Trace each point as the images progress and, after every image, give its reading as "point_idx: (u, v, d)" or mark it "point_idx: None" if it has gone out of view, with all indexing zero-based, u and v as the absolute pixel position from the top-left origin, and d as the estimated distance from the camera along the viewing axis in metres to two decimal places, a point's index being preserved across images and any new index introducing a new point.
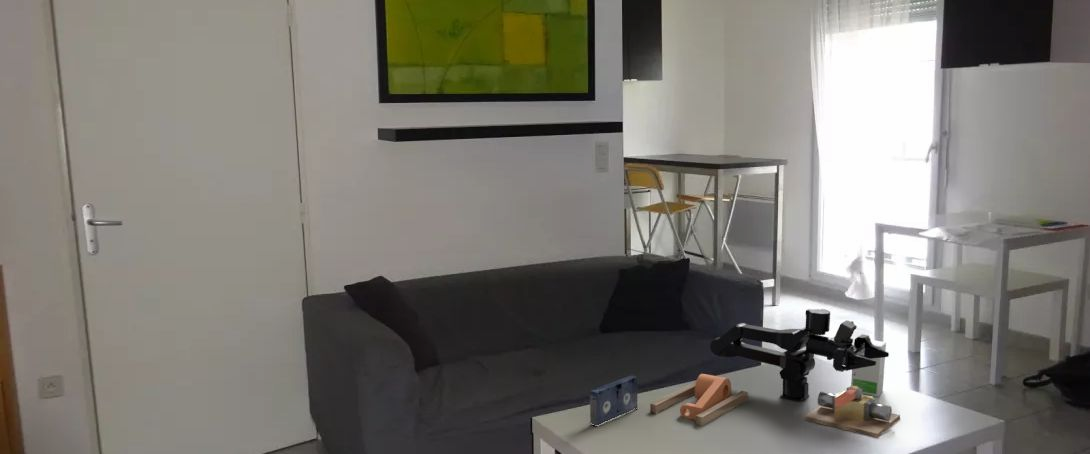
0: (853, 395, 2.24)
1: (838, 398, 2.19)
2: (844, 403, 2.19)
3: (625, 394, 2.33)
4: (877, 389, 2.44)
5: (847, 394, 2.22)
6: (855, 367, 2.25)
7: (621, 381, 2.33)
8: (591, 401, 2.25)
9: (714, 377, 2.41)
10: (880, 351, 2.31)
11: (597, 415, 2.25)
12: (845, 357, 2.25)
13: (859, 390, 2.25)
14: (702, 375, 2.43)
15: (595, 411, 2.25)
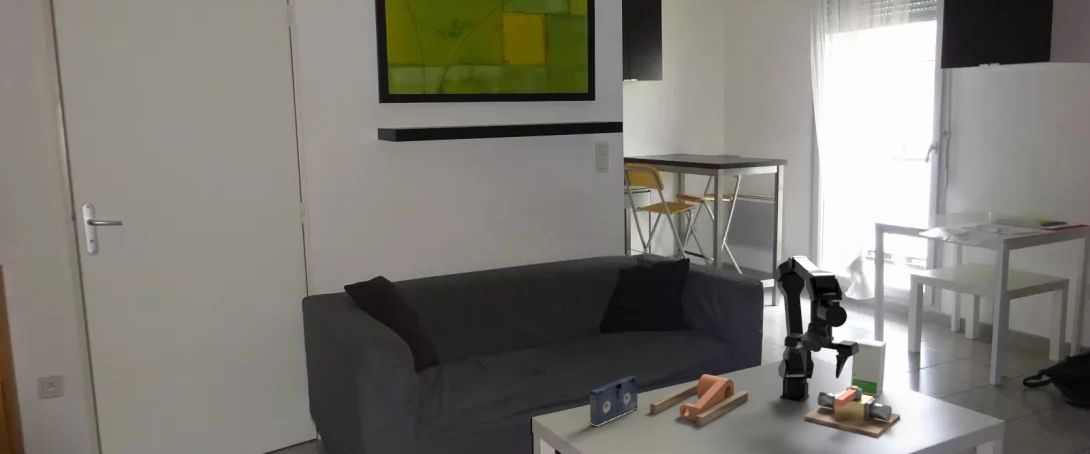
0: (853, 395, 2.24)
1: (838, 398, 2.19)
2: (844, 403, 2.19)
3: (625, 394, 2.33)
4: (877, 389, 2.44)
5: (847, 394, 2.22)
6: None
7: (621, 381, 2.33)
8: (591, 401, 2.25)
9: (716, 378, 2.40)
10: None
11: (597, 415, 2.25)
12: None
13: (859, 390, 2.25)
14: (705, 375, 2.42)
15: (595, 411, 2.25)
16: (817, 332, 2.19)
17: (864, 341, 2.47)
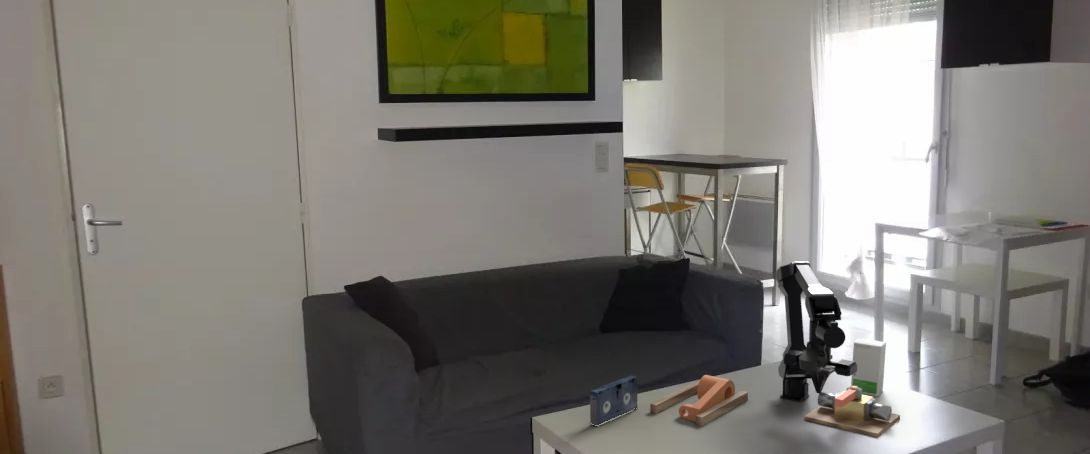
0: (853, 395, 2.24)
1: (838, 398, 2.19)
2: (844, 403, 2.19)
3: (625, 394, 2.33)
4: (877, 389, 2.44)
5: (847, 394, 2.22)
6: None
7: (621, 381, 2.33)
8: (591, 401, 2.25)
9: (717, 379, 2.39)
10: None
11: (597, 415, 2.25)
12: None
13: (859, 390, 2.25)
14: (705, 376, 2.42)
15: (595, 411, 2.25)
16: (815, 351, 2.19)
17: (864, 341, 2.47)
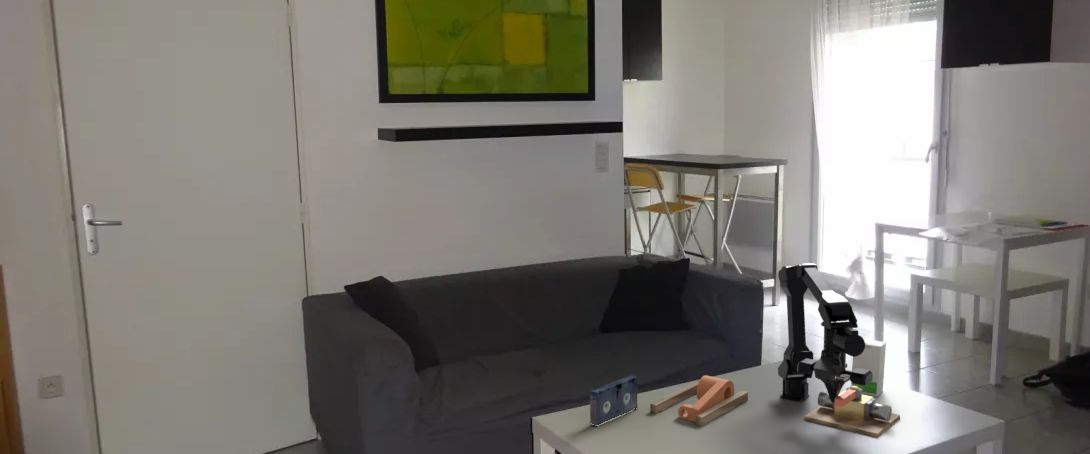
0: (853, 395, 2.24)
1: (838, 398, 2.19)
2: (844, 403, 2.19)
3: (625, 394, 2.33)
4: (877, 389, 2.44)
5: (847, 394, 2.22)
6: None
7: (621, 381, 2.33)
8: (591, 401, 2.25)
9: (716, 379, 2.39)
10: None
11: (597, 415, 2.25)
12: None
13: (859, 390, 2.25)
14: (705, 377, 2.42)
15: (595, 411, 2.25)
16: (830, 360, 2.17)
17: (864, 341, 2.47)
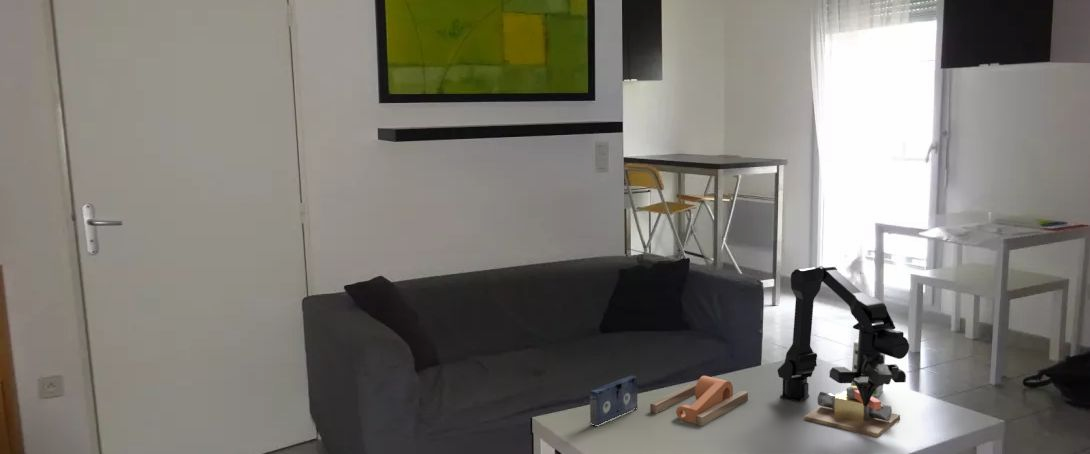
0: None
1: (875, 401, 2.16)
2: None
3: (625, 394, 2.33)
4: (877, 389, 2.44)
5: None
6: (857, 386, 2.19)
7: (621, 381, 2.33)
8: (591, 401, 2.25)
9: (715, 379, 2.39)
10: None
11: (597, 415, 2.25)
12: (857, 381, 2.16)
13: None
14: (703, 377, 2.41)
15: (595, 411, 2.25)
16: (879, 363, 2.12)
17: None
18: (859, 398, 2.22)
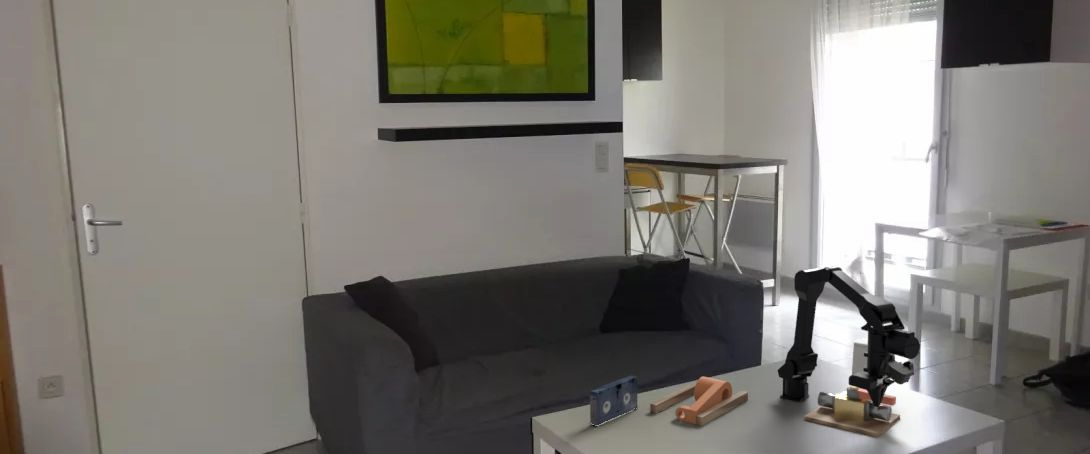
0: None
1: (891, 397, 2.19)
2: None
3: (625, 394, 2.33)
4: None
5: None
6: None
7: (621, 381, 2.33)
8: (591, 401, 2.25)
9: (714, 380, 2.38)
10: None
11: (597, 415, 2.25)
12: None
13: None
14: (702, 378, 2.41)
15: (595, 411, 2.25)
16: (894, 363, 2.13)
17: (864, 341, 2.47)
18: (867, 397, 2.23)
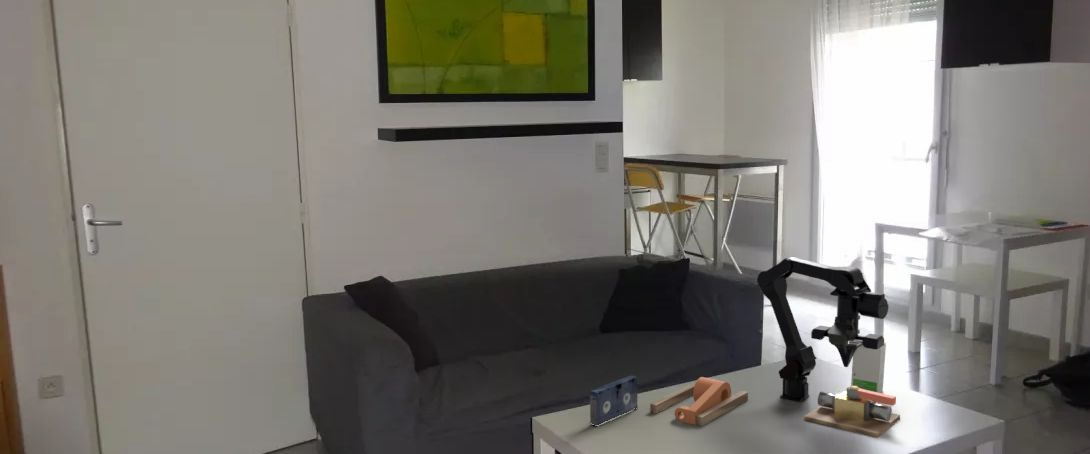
0: None
1: (891, 397, 2.19)
2: None
3: (625, 394, 2.33)
4: (877, 389, 2.44)
5: (876, 392, 2.23)
6: None
7: (621, 381, 2.33)
8: (591, 401, 2.25)
9: (713, 381, 2.38)
10: None
11: (597, 415, 2.25)
12: None
13: None
14: (701, 378, 2.40)
15: (595, 411, 2.25)
16: (843, 326, 2.26)
17: None
18: (867, 397, 2.23)
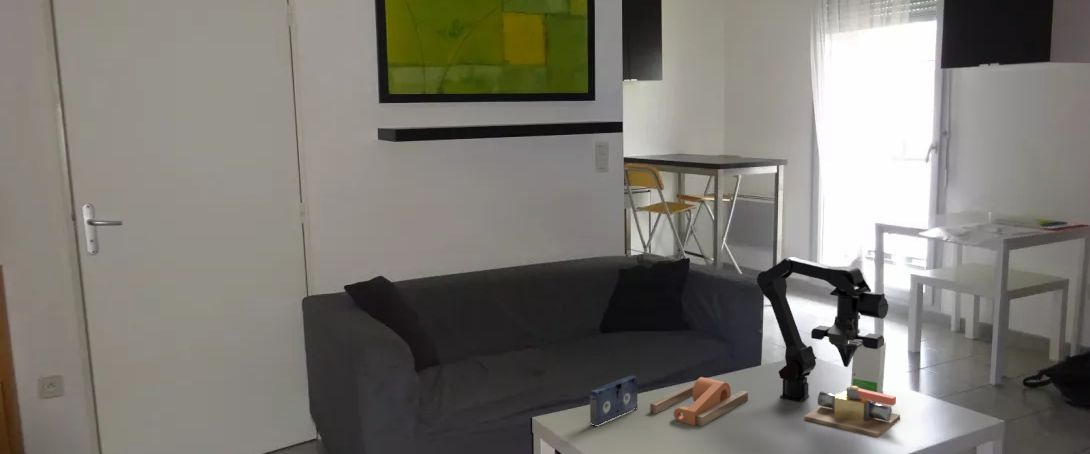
0: None
1: (891, 397, 2.19)
2: None
3: (625, 394, 2.33)
4: (877, 389, 2.44)
5: (876, 392, 2.23)
6: None
7: (621, 381, 2.33)
8: (591, 401, 2.25)
9: (712, 381, 2.38)
10: None
11: (597, 415, 2.25)
12: None
13: None
14: (701, 378, 2.40)
15: (595, 411, 2.25)
16: (844, 325, 2.26)
17: None
18: (867, 397, 2.23)
